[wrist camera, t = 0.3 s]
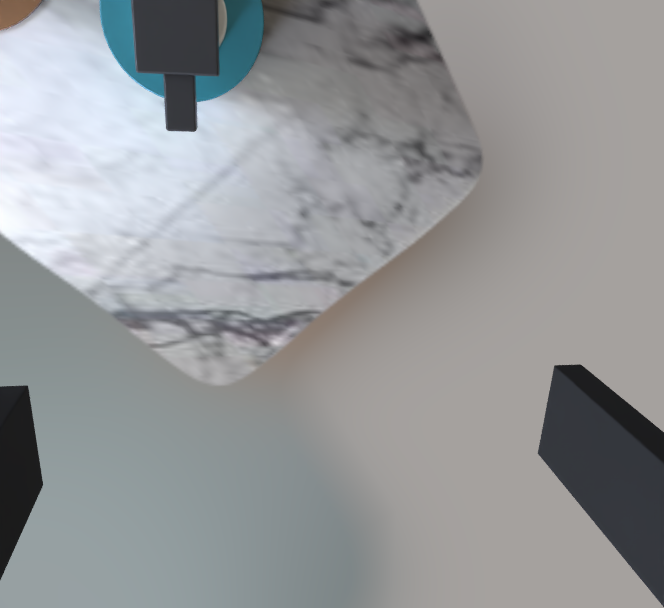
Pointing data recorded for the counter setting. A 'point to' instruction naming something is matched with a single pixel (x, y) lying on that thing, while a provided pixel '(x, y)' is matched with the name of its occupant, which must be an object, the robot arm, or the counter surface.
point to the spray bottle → (184, 48)
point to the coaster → (15, 11)
